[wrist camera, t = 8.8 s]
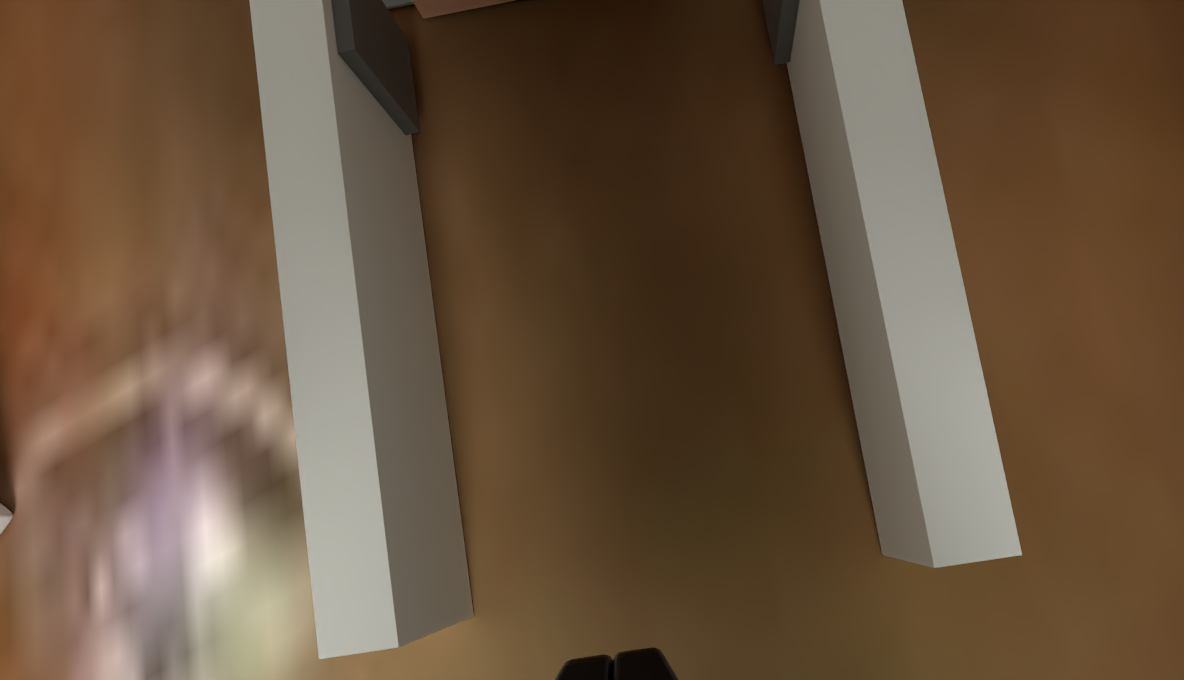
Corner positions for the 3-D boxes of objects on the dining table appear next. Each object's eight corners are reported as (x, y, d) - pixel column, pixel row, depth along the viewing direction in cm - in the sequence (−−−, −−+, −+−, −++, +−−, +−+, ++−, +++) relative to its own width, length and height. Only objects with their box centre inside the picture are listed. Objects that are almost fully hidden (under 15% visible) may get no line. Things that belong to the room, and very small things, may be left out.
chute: (948, 545, 20) (1021, 555, 15) (412, 625, 21) (319, 659, 16) (751, -416, 24) (759, -661, 19) (299, -314, 25) (193, -521, 20)
